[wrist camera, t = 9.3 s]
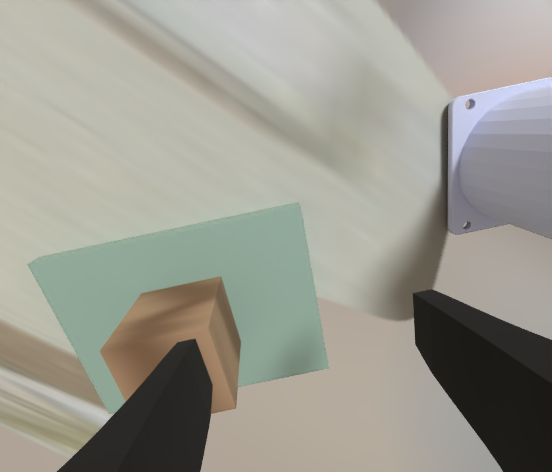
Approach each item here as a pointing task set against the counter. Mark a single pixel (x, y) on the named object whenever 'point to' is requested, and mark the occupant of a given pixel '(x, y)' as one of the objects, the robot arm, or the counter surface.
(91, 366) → the sage board
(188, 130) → the counter surface
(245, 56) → the counter surface
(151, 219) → the counter surface
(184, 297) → the walnut block
